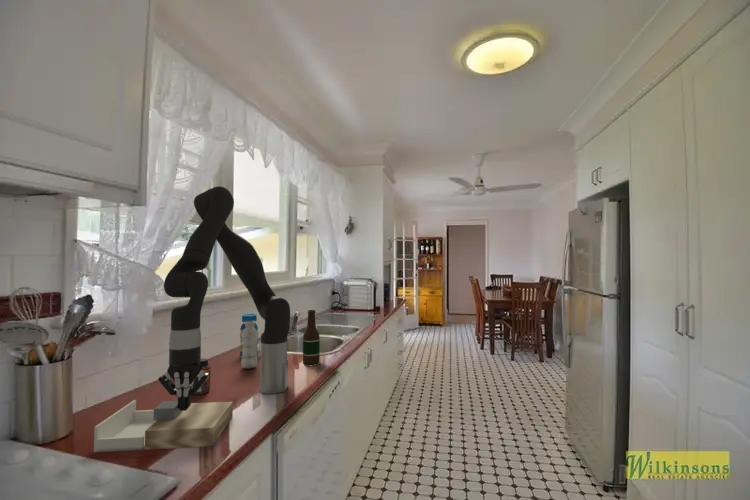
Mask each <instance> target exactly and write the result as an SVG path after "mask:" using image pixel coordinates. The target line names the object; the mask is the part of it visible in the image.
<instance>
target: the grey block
mask: <svg viewBox="0 0 750 500" xmlns="http://www.w3.org/2000/svg"><path fill="white" fill-rule="evenodd" d="M153 410H154V420H153V421H158V420H174V419H175V418H176V417H177V416H178V415H179V414H180V413H181V412H182V411H180V409H178V400H163V401H161V402H160V403H159V404H158V405H157V406H156V407H154V408H153Z"/></svg>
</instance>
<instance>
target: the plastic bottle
mask: <svg viewBox="0 0 750 500" xmlns="http://www.w3.org/2000/svg"><path fill="white" fill-rule="evenodd" d="M254 325H255V324H254V321H246V322H245V326H246V328H245V329H244V330H243V332H242V342H243V354H242V358H241V363H240V366H241V367H242V369H246V370H249V369H254V368H256V367H257V365H258V355H257V356H256V341H257V331H258V330H257V331H256V329H255V328H254Z"/></svg>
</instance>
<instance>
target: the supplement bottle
mask: <svg viewBox="0 0 750 500" xmlns="http://www.w3.org/2000/svg"><path fill="white" fill-rule="evenodd" d="M200 364H201V366H202V370H203V371H204V372H206V373H207V372H209V373H210V374H211V365H210V364H209V360H208V358H206V357H205V358H202V357H201V361H200ZM198 382H199V375H198V376H197V377H196V379H195V380H194V382H193V386H192V388H194V386H195V385H196V384H197V383H198ZM210 390H211V375H210V376H209V377H208V379H207V380H206V381H205V382H204V384H203V385H202V386H201V387H200V389H199V390H198V391H197V392H196V393H195V394H194V395H197V396H198V395H199V396H200V395H203V394H204V395H205V394H207V393H208V392H210Z"/></svg>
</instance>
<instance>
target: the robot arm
mask: <svg viewBox="0 0 750 500" xmlns="http://www.w3.org/2000/svg"><path fill="white" fill-rule="evenodd" d="M193 206H194V208H195V211H196V212H197V213H196V214H198V216H199V217H200V219H201V220H202V221H201V222H200V224H199V225H198V226H197V227H196V229H195V230H194V231H193V232H192V234H191V235H190V237H189V239H188V241H187V243H186V245H185V247H184V249H183V253H182V256H181V257H180V258H179V259H178V261H177V262H176V263H175V264H174V265H173V266H172V268H171V269H170V270H169V271H168V273H167V275H166V277H165V278H164V282H163V289H164V292H165V294H166V295H167V296H168V297H170V298H189V300H188V302H187V304H185V305H179V306H176V307H174V308H172V310H171V314H170V334H169V335H170V336H169V341H168V346H169V347H168V348H169V349H168V352H169V353H168V365H169V366H168V368H167V370H166V371H167V372H165V373H164V374H162V375H161V376H159V377H158V381H159V383H160V384H161V385H162V387H163V388H164V389H165V390H166V391H167V392H168V393H169V395H170V396H176V397H177V401H178V409H180V411H186V410H187V409H188V408H189V407H190V405H191V403H192V395H196V394H195V393H196V392H197V391H198V390H199V389H200V387H201V386H202V385H203V384H204V382H205V381H206V380H207V379H208V377H209V376H210V377H211V373H209V372H207V373H206V372H204V371H203V370H202V366H201V364H200V361H201V359H202V356H201V355H202V354H201V353H202V349H201V348H202V333H201V313H202V308H203V304H204V300H205V297H206V295H207V292H208V288H209V279H208V277H207V274H205V273H204V272H202V270H205V269H206V268H207V267H208V265H209V262H210V258H211V256H212V253H213V250H214V247H215V244H216V241H217V243H218V245H219V247H220V248H221V249H222V251H223V252H224V254H225V256H226V258H227V259H228V261H229V263H230V265H231V267H232V268H233V270H234V271H235V273H236V275H237V276H238V278H239V279H240V282H242V284H243V285H244V286H245V288H246V289H247V290H248V291H247V292H248V293H249V294H250V296H251V298H252V301H253V303H254V305H255V307H256V309H257V312H258V314H259V316H260V317H261V318H262V319H263V320H264V330H263V332H262V333H261V335H260V360H259V361H260V367H259V368H260V371H259V372H260V373H259V374H260V375H259V379H260V380H259V391H260V392H261V393H262V394H267V395H272V394H275V395H276V394H279V393H285V392H286V391H287V388H288V386H289V385H288V382H289V378H288V377H289V360H288V337H289V334H290V328H291V325H290V324H291V306H290V304H289V301H288V300H286V299H285V298H283V297H279V296H277V294H275V292H274V291H273V290H272V288H271V286H270V284H269V283H268V281H267V278H266V273H265V269H264V266H263V261H262V260H261V258H260V256H259V254H258V252H257V250H256V249H255V246H253V244H252V243H251V242H250V241H248V240H247V239H246V238H245V237H243V236H241V235H240V234H238V233H236V232H235V231H234V230H233V229H231V227H230V226H229V225H228V224H227V223H226V221H227V219H228V218H229V216H230V215H231V212H232V211H233V209H234V206H235V200H234V196H233V194H232V192H231V191H230V190H229V189H228V188H226V187H224V186H214V187H211V188H210V189H207V190H205V191H203V192H201V193H199V194H197V195H196V196H195V197H194V199H193ZM198 375H199V382H198V383H197V384H196V385H195V386H194V388H192V386H193V382H194V380H195V379H196V377H197V376H198Z"/></svg>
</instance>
